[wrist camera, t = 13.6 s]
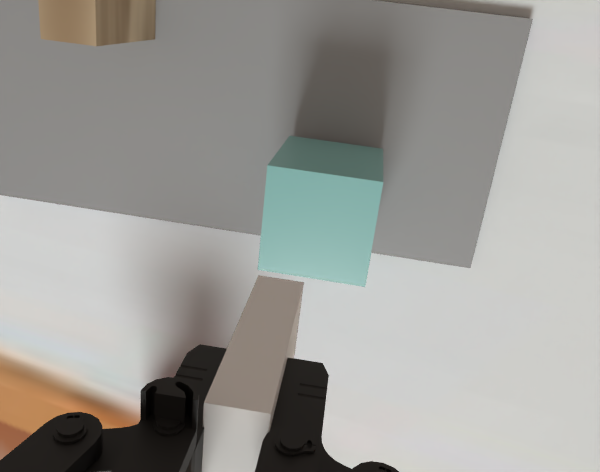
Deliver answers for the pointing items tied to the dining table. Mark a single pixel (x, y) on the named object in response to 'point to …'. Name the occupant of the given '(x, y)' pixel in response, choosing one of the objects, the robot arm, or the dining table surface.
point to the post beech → (97, 21)
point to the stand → (264, 111)
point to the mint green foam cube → (321, 210)
